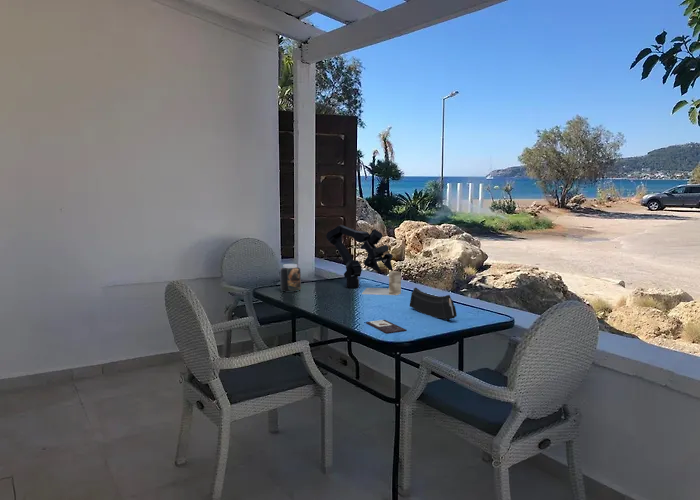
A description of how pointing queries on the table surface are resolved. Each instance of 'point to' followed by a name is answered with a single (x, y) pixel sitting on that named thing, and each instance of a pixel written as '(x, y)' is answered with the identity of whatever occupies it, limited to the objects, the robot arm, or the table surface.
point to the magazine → (433, 305)
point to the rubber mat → (377, 291)
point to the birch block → (394, 282)
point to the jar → (290, 277)
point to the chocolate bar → (386, 326)
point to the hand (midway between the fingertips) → (386, 271)
